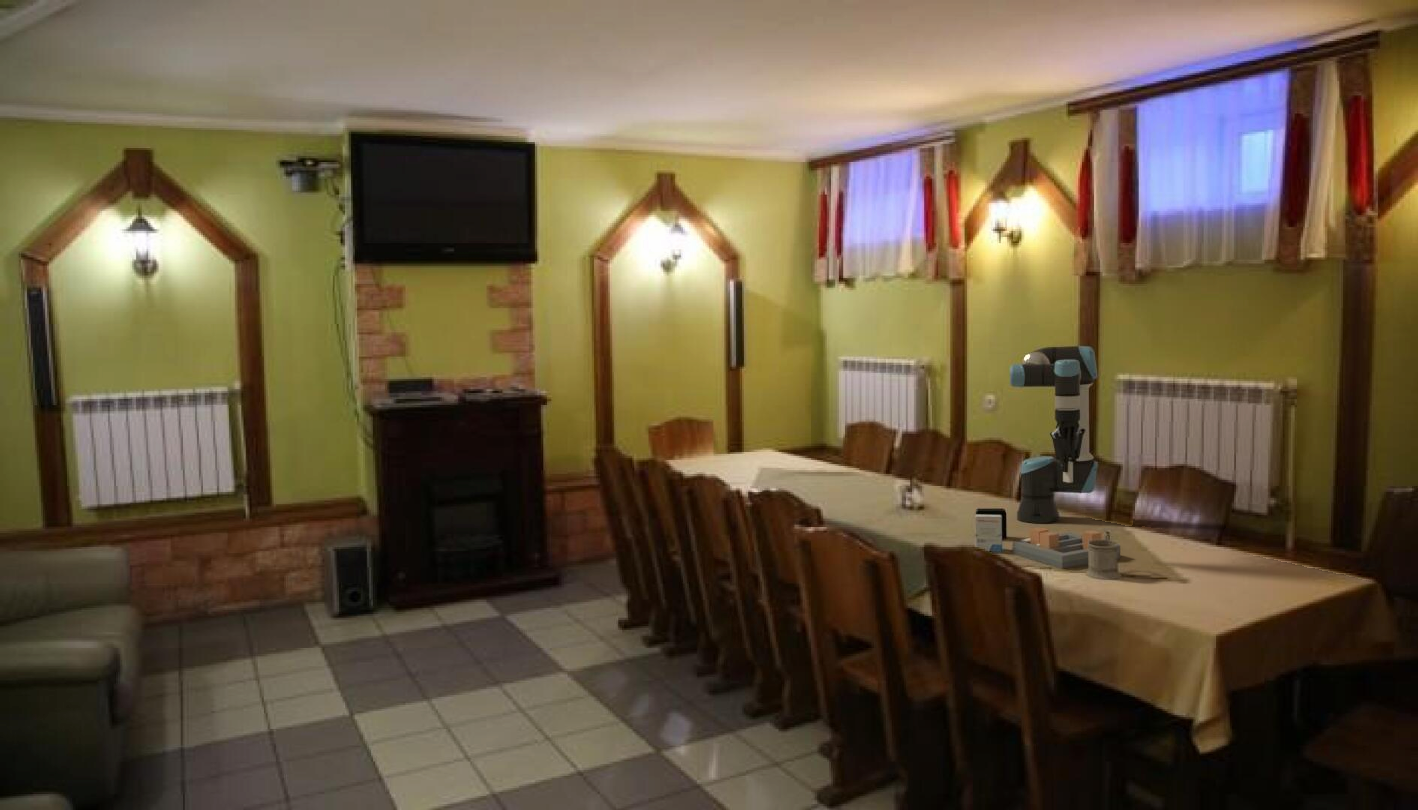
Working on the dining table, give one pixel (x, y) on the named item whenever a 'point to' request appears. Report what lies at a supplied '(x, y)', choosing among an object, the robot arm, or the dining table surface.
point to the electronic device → (995, 512)
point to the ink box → (988, 532)
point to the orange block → (1090, 537)
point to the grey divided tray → (1056, 551)
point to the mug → (1103, 559)
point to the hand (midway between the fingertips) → (1068, 481)
